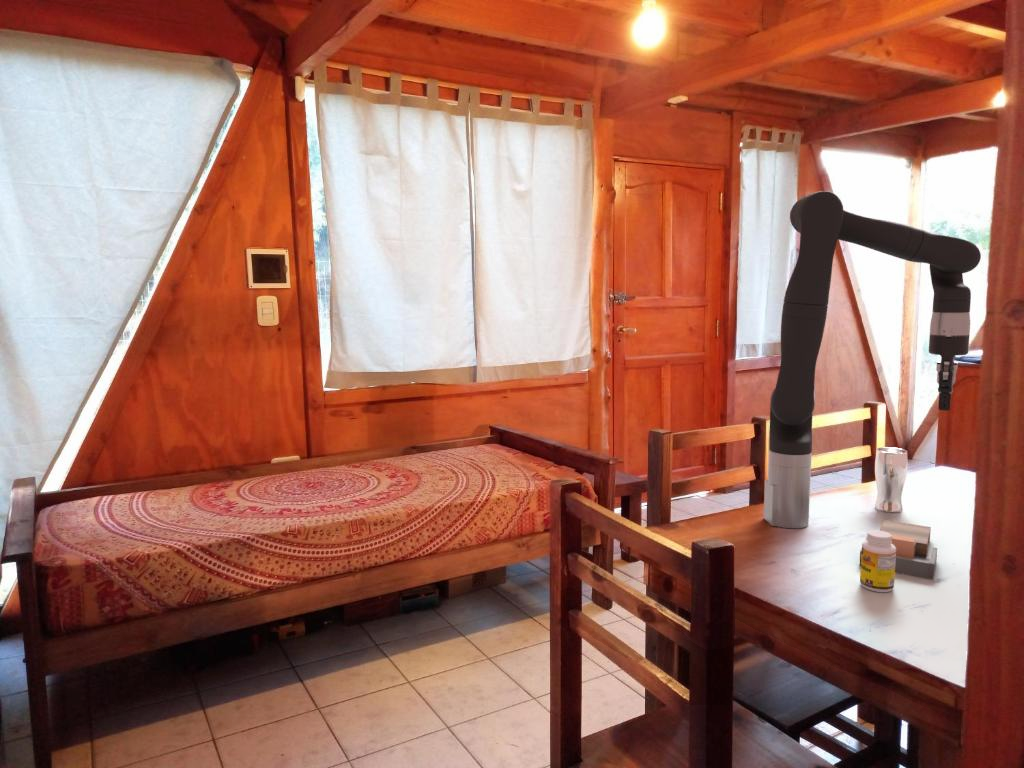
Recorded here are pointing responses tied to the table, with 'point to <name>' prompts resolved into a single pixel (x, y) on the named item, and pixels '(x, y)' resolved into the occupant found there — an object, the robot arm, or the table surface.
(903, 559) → the charcoal tray
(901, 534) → the walnut board
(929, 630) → the table surface
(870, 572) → the supplement bottle
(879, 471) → the beer glass
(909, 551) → the terracotta tile
